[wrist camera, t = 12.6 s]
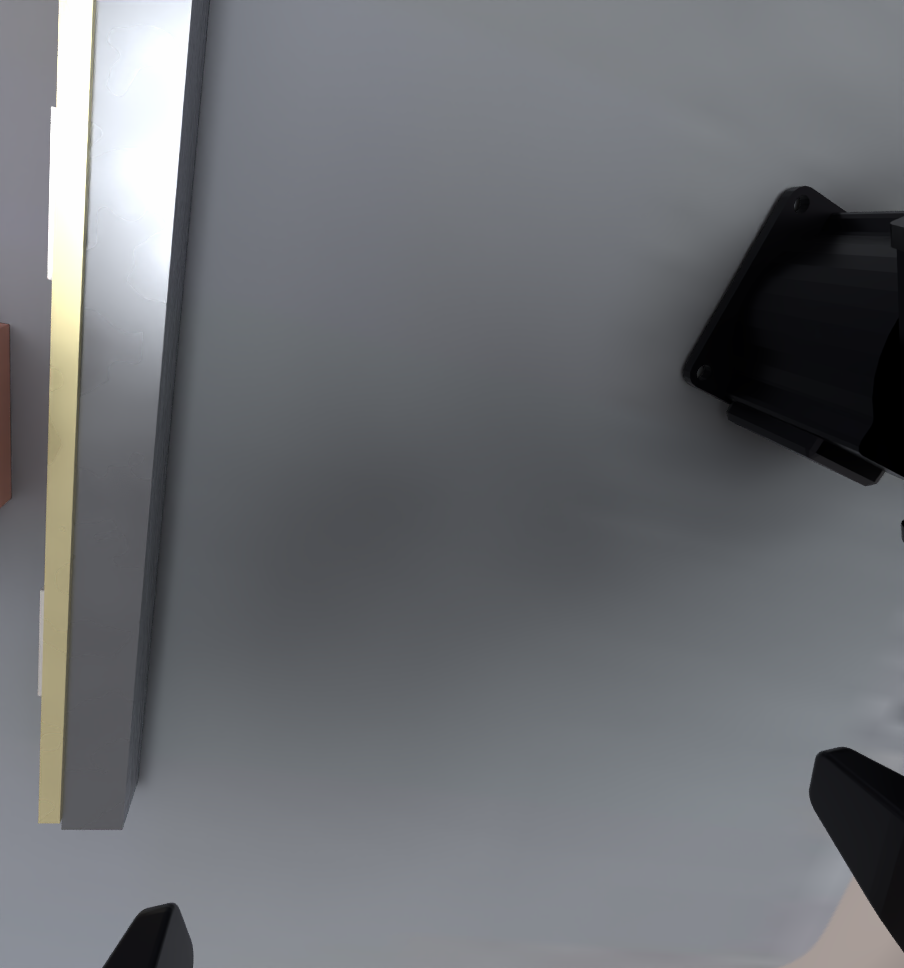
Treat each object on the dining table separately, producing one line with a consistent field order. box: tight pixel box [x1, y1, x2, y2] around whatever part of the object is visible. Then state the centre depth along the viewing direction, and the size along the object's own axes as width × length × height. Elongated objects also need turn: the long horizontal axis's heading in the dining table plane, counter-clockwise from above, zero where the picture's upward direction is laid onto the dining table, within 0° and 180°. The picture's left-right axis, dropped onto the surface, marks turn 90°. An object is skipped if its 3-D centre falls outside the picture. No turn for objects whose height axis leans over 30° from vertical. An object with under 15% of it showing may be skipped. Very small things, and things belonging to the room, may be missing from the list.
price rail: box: [38, 0, 210, 830], centre depth 17 cm, size 3×26×2 cm, turn 167°
